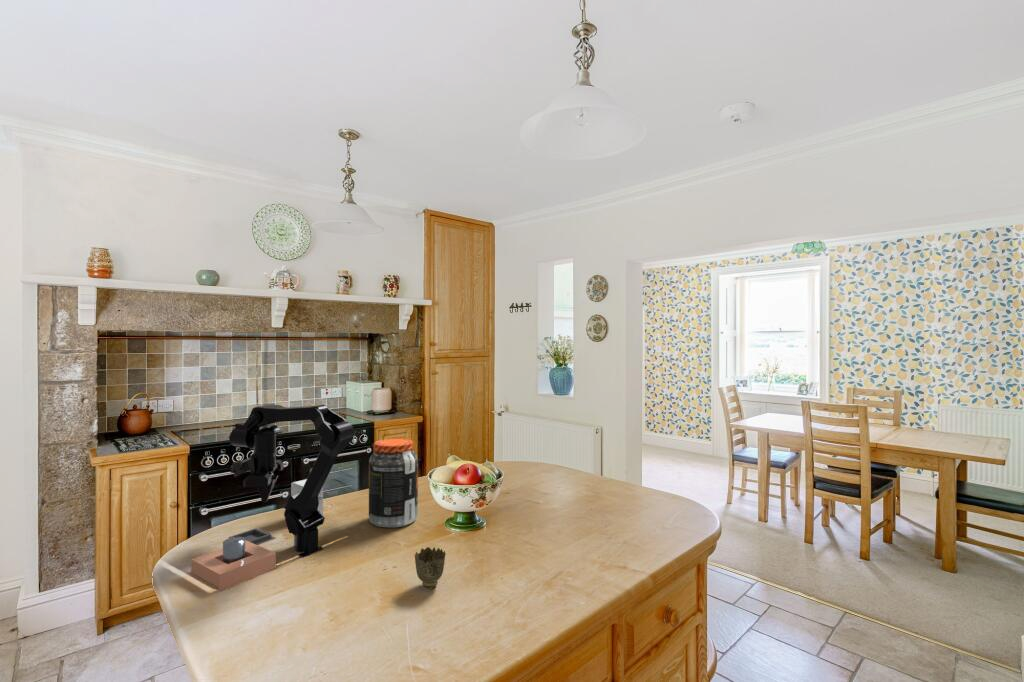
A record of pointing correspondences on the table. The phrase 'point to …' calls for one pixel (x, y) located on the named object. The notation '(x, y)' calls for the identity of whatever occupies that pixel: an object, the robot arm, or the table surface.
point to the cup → (430, 566)
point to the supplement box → (297, 488)
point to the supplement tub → (393, 483)
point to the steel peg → (233, 549)
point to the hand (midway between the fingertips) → (264, 502)
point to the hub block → (233, 566)
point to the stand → (255, 536)
